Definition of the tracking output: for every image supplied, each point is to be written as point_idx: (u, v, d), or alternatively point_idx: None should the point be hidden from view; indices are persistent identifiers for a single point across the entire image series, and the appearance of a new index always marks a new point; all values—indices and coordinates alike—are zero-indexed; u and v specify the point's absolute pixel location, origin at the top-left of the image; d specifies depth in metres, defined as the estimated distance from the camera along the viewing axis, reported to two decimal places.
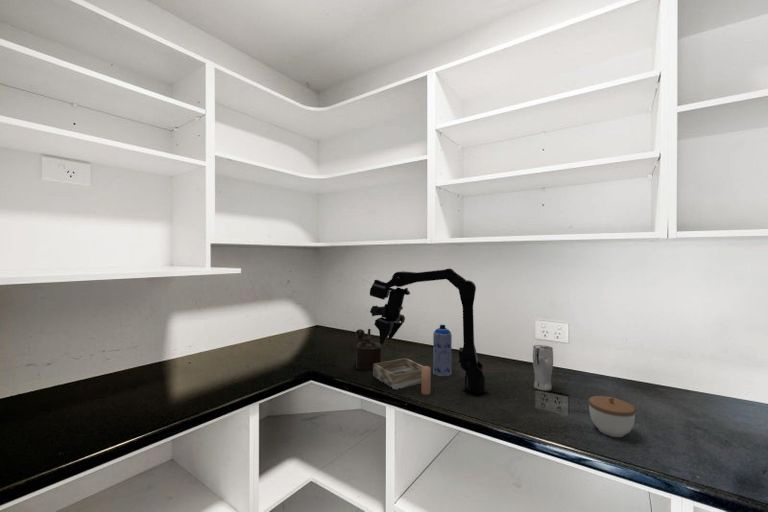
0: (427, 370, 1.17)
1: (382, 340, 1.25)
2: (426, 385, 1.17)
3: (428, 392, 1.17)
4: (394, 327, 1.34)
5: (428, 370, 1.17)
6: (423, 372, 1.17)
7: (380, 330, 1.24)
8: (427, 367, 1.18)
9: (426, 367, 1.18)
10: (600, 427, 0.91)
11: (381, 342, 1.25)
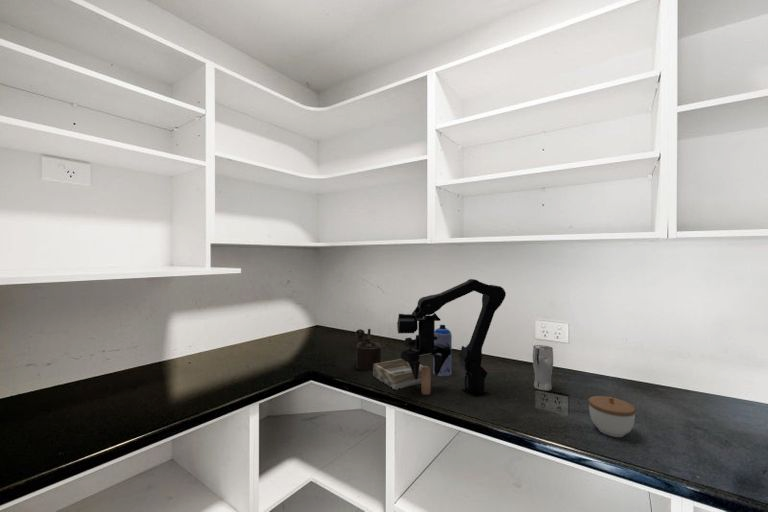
0: (427, 370, 1.17)
1: (414, 375, 1.15)
2: (427, 385, 1.17)
3: (428, 392, 1.17)
4: (438, 361, 1.20)
5: (428, 370, 1.17)
6: (423, 372, 1.17)
7: (410, 363, 1.16)
8: (427, 367, 1.18)
9: (426, 367, 1.18)
10: (600, 427, 0.91)
11: (415, 377, 1.16)
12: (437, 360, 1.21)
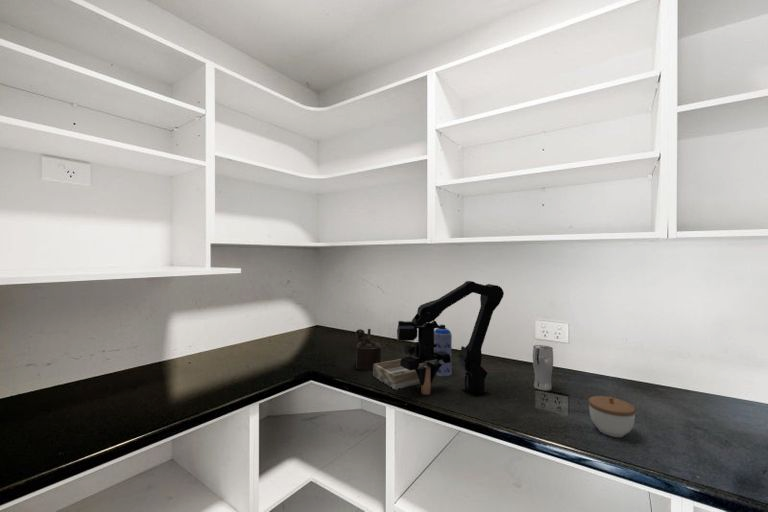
0: (427, 370, 1.17)
1: (420, 381, 1.17)
2: (426, 385, 1.17)
3: (428, 392, 1.17)
4: (432, 369, 1.18)
5: (428, 370, 1.17)
6: None
7: (416, 369, 1.17)
8: (427, 367, 1.18)
9: (426, 367, 1.18)
10: (600, 427, 0.91)
11: (421, 383, 1.17)
12: (431, 369, 1.19)
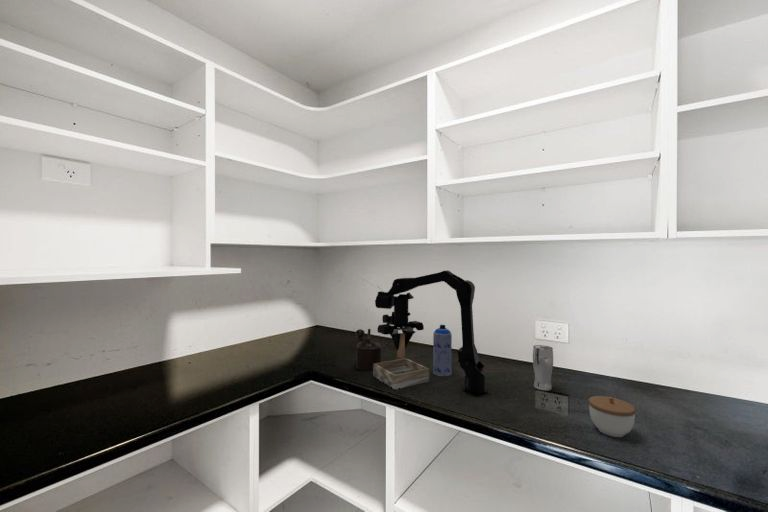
0: (401, 336, 1.30)
1: (396, 345, 1.30)
2: (401, 350, 1.30)
3: (402, 356, 1.30)
4: (406, 336, 1.32)
5: (402, 336, 1.30)
6: None
7: (392, 336, 1.31)
8: (402, 334, 1.32)
9: (401, 334, 1.32)
10: (600, 427, 0.91)
11: (396, 348, 1.31)
12: (405, 335, 1.33)
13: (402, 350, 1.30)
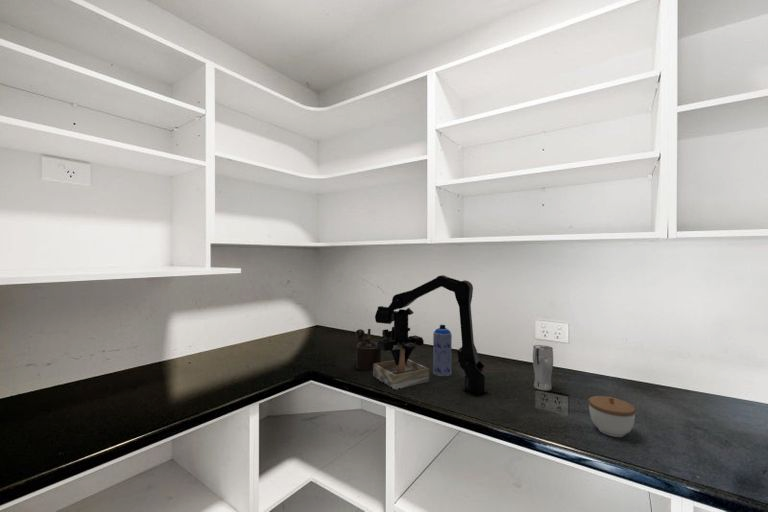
0: (401, 351, 1.30)
1: (396, 361, 1.30)
2: (401, 365, 1.30)
3: (402, 371, 1.30)
4: (406, 351, 1.32)
5: (402, 351, 1.30)
6: None
7: (392, 351, 1.31)
8: (402, 349, 1.32)
9: (401, 349, 1.32)
10: (600, 427, 0.91)
11: (396, 363, 1.31)
12: (405, 350, 1.33)
13: (402, 365, 1.30)
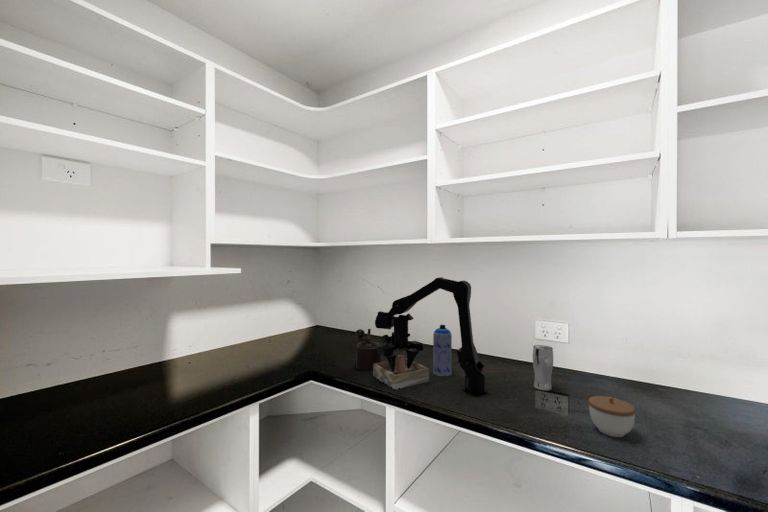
0: (401, 358, 1.30)
1: (391, 367, 1.29)
2: (401, 372, 1.30)
3: None
4: (410, 356, 1.33)
5: (402, 358, 1.30)
6: (398, 360, 1.31)
7: (387, 357, 1.30)
8: (402, 356, 1.32)
9: (401, 356, 1.32)
10: (600, 427, 0.91)
11: (392, 369, 1.30)
12: (409, 355, 1.34)
13: (402, 372, 1.30)
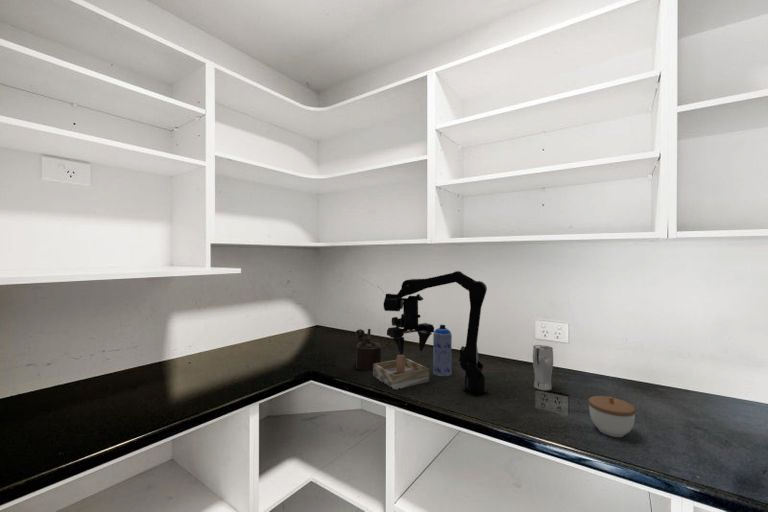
0: (401, 358, 1.30)
1: (400, 350, 1.25)
2: (401, 372, 1.30)
3: None
4: (422, 338, 1.30)
5: (402, 358, 1.30)
6: (398, 360, 1.31)
7: (395, 340, 1.26)
8: (402, 356, 1.32)
9: (401, 356, 1.32)
10: (600, 427, 0.91)
11: (400, 352, 1.25)
12: (421, 337, 1.30)
13: (402, 372, 1.30)
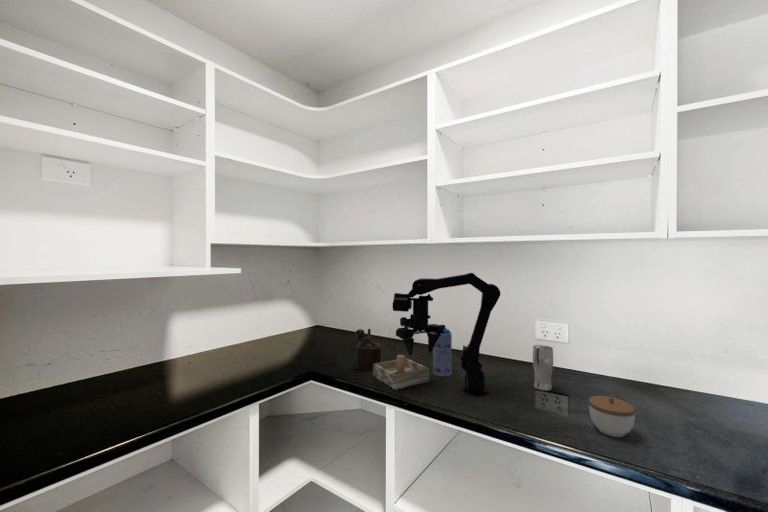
0: (401, 358, 1.30)
1: (409, 351, 1.21)
2: (401, 372, 1.30)
3: None
4: (432, 339, 1.26)
5: (402, 358, 1.30)
6: (398, 360, 1.31)
7: (404, 341, 1.22)
8: (402, 356, 1.32)
9: (401, 356, 1.32)
10: (600, 427, 0.91)
11: (409, 353, 1.22)
12: (431, 338, 1.27)
13: (402, 372, 1.30)
